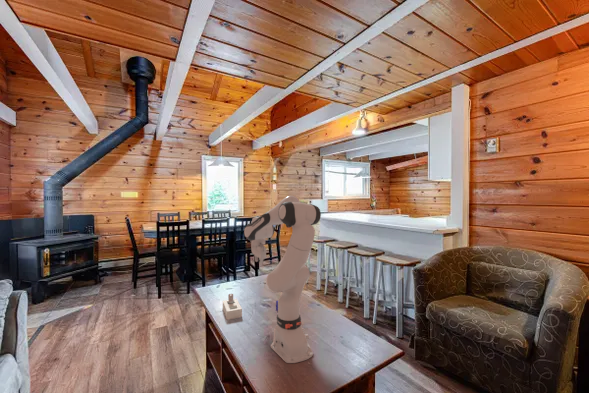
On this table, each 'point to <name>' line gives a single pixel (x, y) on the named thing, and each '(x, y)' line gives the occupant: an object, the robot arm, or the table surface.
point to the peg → (230, 298)
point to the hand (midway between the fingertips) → (258, 263)
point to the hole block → (232, 309)
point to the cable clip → (277, 305)
